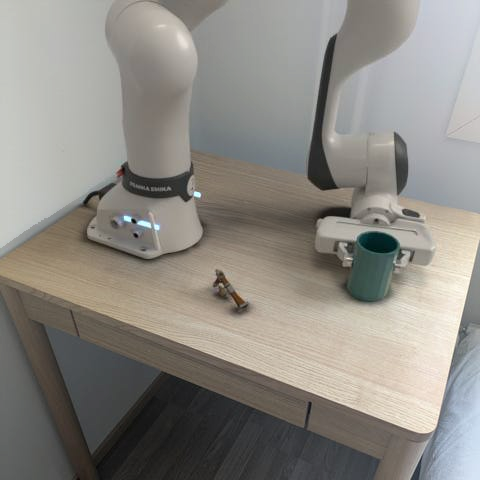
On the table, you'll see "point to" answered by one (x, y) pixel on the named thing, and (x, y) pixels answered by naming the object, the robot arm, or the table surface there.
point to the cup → (372, 265)
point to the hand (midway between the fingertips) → (373, 267)
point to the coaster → (337, 212)
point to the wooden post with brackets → (229, 290)
